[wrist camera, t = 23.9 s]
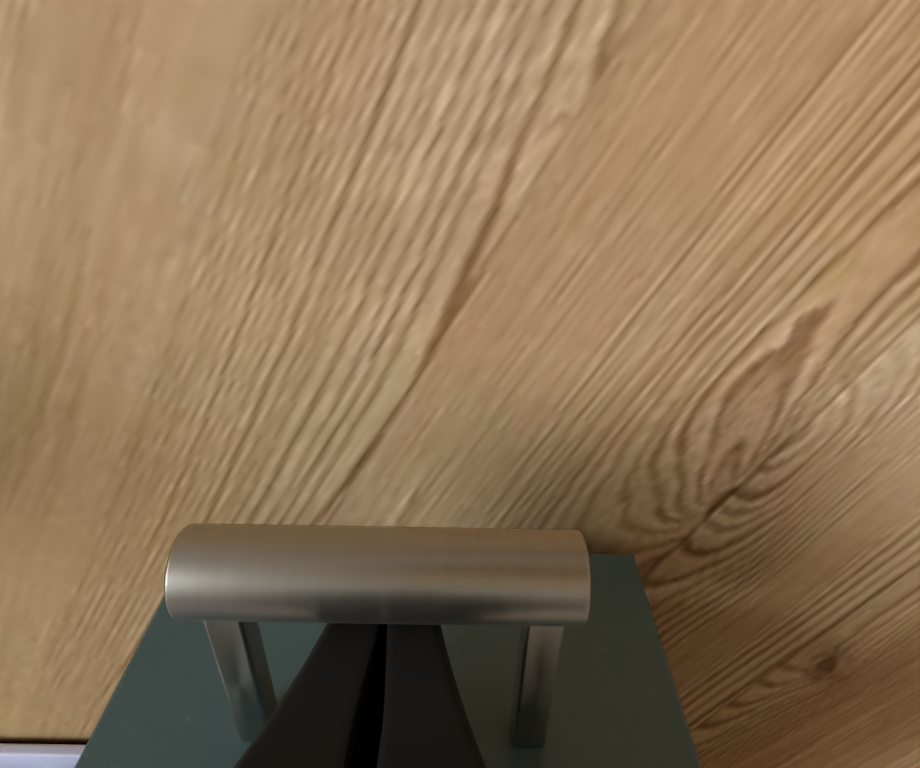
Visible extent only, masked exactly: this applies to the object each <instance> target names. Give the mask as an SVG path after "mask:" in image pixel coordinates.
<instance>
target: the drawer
mask: <svg viewBox="0 0 920 768" xmlns="http://www.w3.org/2000/svg"><path fill="white" fill-rule="evenodd" d="M164 594H165V595H164V597H163V599H162V601H161V602H160V604H159V606H158V608H157V610H156V612H155V614H154V616H153V618H152V620H151V622H150V624H149V625H148V627H147V629H146V631H145V633H144V635H143V637H142V639H141V641H140V643H139V645H138V647H137V648H136V650H135V652H134V654H133V656H132V658H131V660H130V662H129V664H128V666H127V668H126V670H125V671H124V673H123V675H122V677H121V679H120V681H119V683H118V685H117V687H116V689H115V691H114V693H113V694H112V696H111V698H110V700H109V702H108V704H107V706H106V708H105V710H104V712H103V714H102V716H101V718H100V719H99V721H98V723H97V725H96V727H95V729H94V731H93V733H92V735H91V737H90V739H89V741H88V742H87V744H86V746H85V748H84V750H83V752H82V754H81V756H80V758H79V760H78V762H77V764H76V765H75V767H74V768H234V766H235V765H236V764H237V762H238V761H239V760H240V758H241V757H242V755H243V754H244V753H245V751H246V750H247V749H248V747H249V746H250V745H251V743H252V742H253V740H254V739H255V738H256V736H257V735H258V733H259V732H260V731H261V729H262V728H263V726H264V725H265V723H266V722H267V720H268V719H269V718H270V716H271V715H272V713H273V712H274V710H275V709H276V707H277V706H278V704H279V702H280V701H281V699H282V698H283V696H284V695H285V693H286V691H287V690H288V688H289V687H290V685H291V684H292V682H293V680H294V679H295V677H296V676H297V674H298V673H299V671H300V670H301V668H302V666H303V665H304V663H305V661H306V660H307V658H308V656H309V654H310V653H311V651H312V649H313V647H314V646H315V644H316V642H317V640H318V639H319V637H320V635H321V633H322V631H323V630H324V628H325V626H326V624H327V623H356V624H421V625H441V628H442V633H443V637H444V641H445V645H446V648H447V652H448V656H449V660H450V663H451V667H452V671H453V674H454V677H455V681H456V684H457V687H458V691H459V694H460V697H461V700H462V703H463V706H464V709H465V712H466V715H467V718H468V720H469V723H470V726H471V729H472V732H473V734H474V737H475V740H476V742H477V745H478V748H479V750H480V753H481V755H482V758H483V760H484V763H485V766H486V768H701V765H700V762H699V759H698V756H697V753H696V750H695V747H694V743H693V740H692V737H691V734H690V731H689V728H688V725H687V722H686V718H685V715H684V712H683V709H682V706H681V703H680V700H679V697H678V694H677V690H676V687H675V684H674V681H673V678H672V675H671V672H670V669H669V665H668V662H667V659H666V656H665V653H664V650H663V647H662V644H661V640H660V637H659V634H658V631H657V628H656V625H655V622H654V619H653V616H652V612H651V609H650V606H649V603H648V600H647V597H646V594H645V591H644V587H643V584H642V581H641V578H640V575H639V572H638V569H637V566H636V562H635V559H634V556H633V555H631V554H588V550H587V545H586V542H585V539H584V536H583V534H582V533H581V532H580V531H578V530H559V529H498V528H437V527H376V526H315V525H254V524H190V525H188V526H186V527H185V528H183V529H182V530H181V532H180V533H179V534H178V536H177V538H176V539H175V541H174V543H173V546H172V548H171V551H170V554H169V558H168V561H167V566H166V572H165V582H164Z"/></svg>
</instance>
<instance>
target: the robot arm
mask: <svg viewBox="0 0 920 768" xmlns="http://www.w3.org/2000/svg"><path fill="white" fill-rule="evenodd" d="M85 746H86V745H77V744H6V743H0V768H74V767H75V765H76V764H77V762H78V760H79V758H80V756H81V754H82V752H83V750H84V748H85ZM234 768H486V766H485V763H484V760H483V758H482V755H481V753H480V750H479V748H478V745H477V742H476V740H475V737H474V734H473V732H472V729H471V726H470V723H469V720H468V718H467V715H466V712H465V709H464V706H463V703H462V700H461V697H460V694H459V691H458V687H457V684H456V681H455V677H454V674H453V671H452V667H451V663H450V660H449V656H448V652H447V648H446V645H445V641H444V637H443V633H442V628H441V625H421V624H356V623H327V624H326V626H325V628H324V630H323V631H322V633H321V635H320V637H319V639H318V640H317V642H316V644H315V646H314V647H313V649H312V651H311V653H310V654H309V656H308V658H307V660H306V661H305V663H304V665H303V666H302V668H301V670H300V671H299V673H298V674H297V676H296V677H295V679H294V680H293V682H292V684H291V685H290V687H289V688H288V690H287V691H286V693H285V695H284V696H283V698H282V699H281V701H280V702H279V704H278V706H277V707H276V709H275V710H274V712H273V713H272V715H271V716H270V718H269V719H268V720H267V722H266V723H265V725H264V726H263V728H262V729H261V731H260V732H259V733H258V735H257V736H256V738H255V739H254V740H253V742H252V743H251V745H250V746H249V747H248V749H247V750H246V751H245V753H244V754H243V755H242V757H241V758H240V760H239V761H238V762H237V764H236V765H235V766H234Z"/></svg>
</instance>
